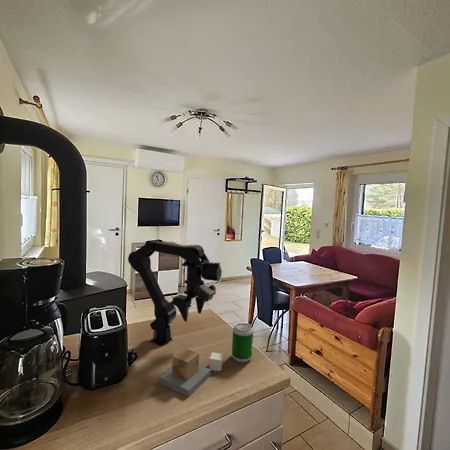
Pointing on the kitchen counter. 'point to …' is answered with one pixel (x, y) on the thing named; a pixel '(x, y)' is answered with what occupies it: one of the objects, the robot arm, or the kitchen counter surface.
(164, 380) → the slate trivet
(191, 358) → the walnut cube
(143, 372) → the kitchen counter surface
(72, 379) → the kitchen counter surface
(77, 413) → the kitchen counter surface
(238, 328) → the soda can
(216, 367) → the pale stone block
